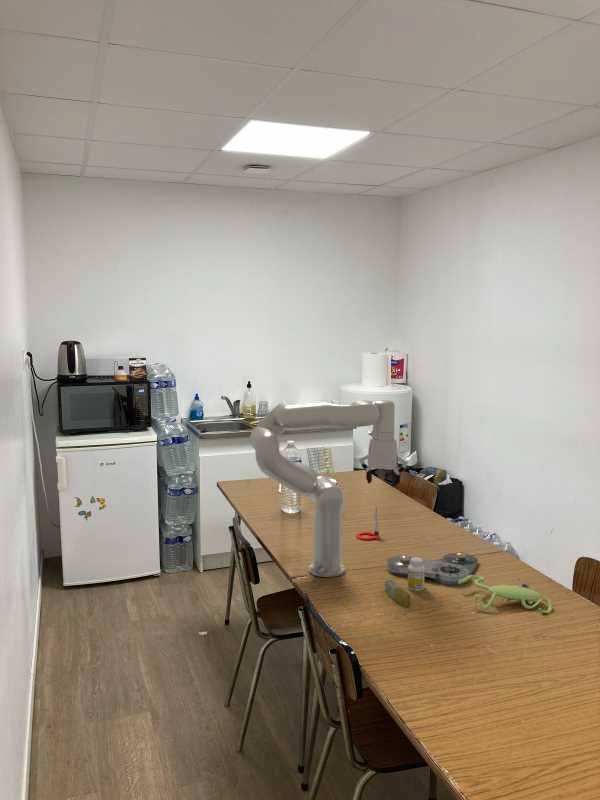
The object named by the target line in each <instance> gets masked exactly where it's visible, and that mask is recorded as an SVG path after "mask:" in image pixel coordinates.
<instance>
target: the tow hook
mask: <svg viewBox="0 0 600 800" xmlns="http://www.w3.org/2000/svg"><path fill="white" fill-rule="evenodd" d="M378 515H379V514H378V507H377V505H376V506H374V532H371V531H362V532H358V533H356V534H355V538H356V539H357V540H359V539H360V541H371V540H376V541H379V540H380V532H379V521H378V519H379V518H378V517H379V516H378ZM363 536H367V537H363Z"/></svg>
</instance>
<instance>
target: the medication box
mask: <svg viewBox="0 0 600 800" xmlns="http://www.w3.org/2000/svg"><path fill="white" fill-rule="evenodd" d="M384 582H385V583H384V585H385V586H384V587H385V588H384V589H385V590H384V592H385V593H386V594H387V595H389V596H390V597H391V598H392V599H393V600H394V601H396V603H398V604H399V605H400V606H401V607H402V608H404V607H410V606H411V594H410V593H408V591H406V590H405V589H404V588H403V587H401V586H400V585H399V584H398V583H396V582H395V581H394V580H392V579H389V580H385V581H384Z"/></svg>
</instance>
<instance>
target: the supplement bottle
mask: <svg viewBox="0 0 600 800" xmlns="http://www.w3.org/2000/svg"><path fill="white" fill-rule="evenodd" d="M413 557H414V558H411V564H410V565H409V566H408V577H407V588H408V589H409V590H410V591H414V590H415V592H420V591H423V590H424V589H425V567H424V566H423V565H422V564H423V559H424V558H422V559H421V557H415V556H413Z"/></svg>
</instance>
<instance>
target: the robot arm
mask: <svg viewBox="0 0 600 800" xmlns="http://www.w3.org/2000/svg"><path fill="white" fill-rule="evenodd" d="M395 407H396V406H395V402H393V401H392V400H388V399H378V400H364V399H357V400H355V401H352V403H351V404H350V405H349V404H347V405H343V404H335V403H334V404H333V403H329V402H312V403H302V404H301V403H300V404H291V403H288V402H281V403H278V404H277V405H276V406H275V407H274V408H272V410H270V411H269V413H268V414H266V416H265V417H264V418H263V419H262V420H261V421H260V422H259V423H257V425H256V426H255V427H254V428H253V430H251V432H250V435H249V442H250V445H251V448H253V450H255V461H256V464H257V466H258V468H259V470H260V471H261V472H262V473H263V474H264V475H265V476H266V477H268V478H270V479H271V480H274V481H275V482H277V484H280V485H282V486H283V487H285V488H287V489H288V490H290V491H291V492H292V493H295V494H297V495H303V496H305V497H307V498H309V499H310V500H311V501H313V503H314V505H315V507H314V515H313V544H312V545H313V551H312V552H313V555H312V557H313V559H312V561H313V562H312V563H311V564H310V565H309V566H308V571H309V573H310V574H311V575H314V576H316V577H322V578H334V577H339V576H342V575H343V574H344V573H345V572H346V567H345V565H343V564H342V563H341V560H342V559H341V555H342V553H341V552H342V551H341V549H342V541H341V540H342V513H343V506H344V494H343V491H342V490H341V488H340V487H339V486H338V485H337V484H336V483H335V482H334V481H332V480H331V479H330V478H328V477H327V476H325V475H324V474H321V473H320V472H319V471H316V470H314V469H313V468H311V467H309V466H307V465H306V464H304V463H302V462H297V461H295V462H294V461H292V460H291V459H290V458H287V457H285V456H283V455H282V454H281V451H280V439H279V437H280V436H281V435H282V434H283V433H284V432H285V431H301V430H302V431H303V430H310V429H311V430H313V429H322V428H323V429H324V428H325V429H326V428H327V429H329V428H331V429H334V428H337V429H338V428H340V429H341V428H346V429H347V428H360V427H369V426H372V430H371V431H368V436H371V439H370V440H369V444H368V450H367V451H368V453H367V455H364V456H363V457H360V458H359V459H358V461H359V463H360V465H361V468H362V469H363V470H364V471H365V473H366V476H365V477H366V478H365V479H366V481H367V484H371V483H372V482H373V471H372V469H379V470H393V472H394V473H395V474H394V477H393V478H394V479H393V481H394V483H393V484H394V487H397V486H398V485H399V484H400V483H401V473H403V472H404V471H405V470H406V468H407V466H408V464H409V462H408V461H407V460H405V459H404V458H402V457H400V456H399V449H398V443H397V440H396V439H395V420H396V419H395V418H396V417H395V414H396V413H395V410H396V409H395ZM365 461H367V464H366V462H365ZM399 463H400V464H401V465H402V466H401V467H400V466H399Z"/></svg>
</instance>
